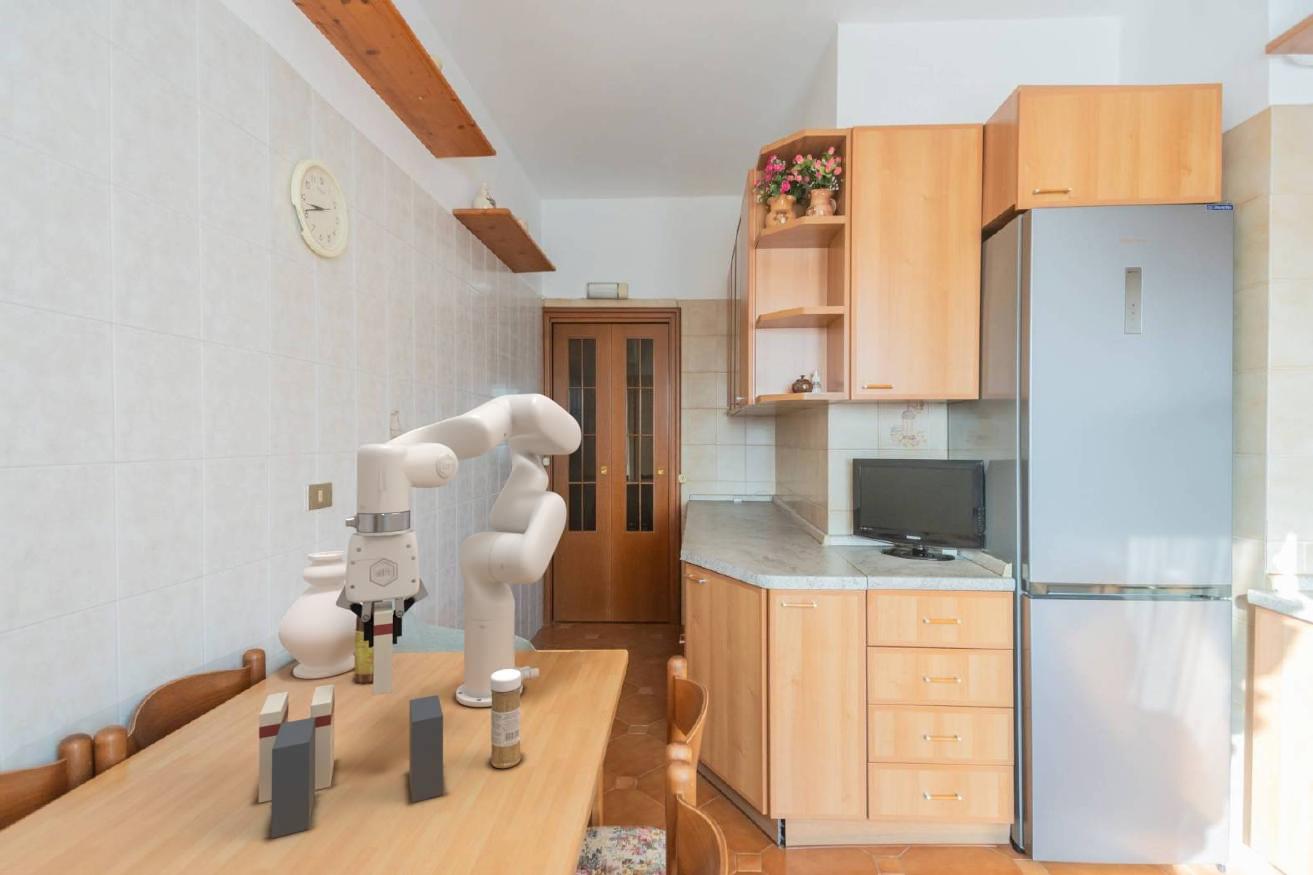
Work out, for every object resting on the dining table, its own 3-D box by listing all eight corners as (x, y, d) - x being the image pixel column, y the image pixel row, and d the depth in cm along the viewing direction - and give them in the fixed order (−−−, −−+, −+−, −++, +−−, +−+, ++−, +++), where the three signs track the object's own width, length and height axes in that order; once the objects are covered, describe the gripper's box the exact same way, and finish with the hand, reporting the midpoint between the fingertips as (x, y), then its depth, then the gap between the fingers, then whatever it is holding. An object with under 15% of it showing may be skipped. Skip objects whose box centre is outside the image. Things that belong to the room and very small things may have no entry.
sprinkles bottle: (517, 750, 90) (517, 665, 91) (523, 765, 86) (524, 676, 87) (487, 757, 88) (488, 670, 89) (493, 772, 84) (493, 681, 85)
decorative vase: (290, 658, 131) (291, 549, 131) (375, 648, 137) (376, 544, 137) (267, 689, 114) (268, 564, 115) (366, 676, 120) (367, 557, 121)
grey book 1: (314, 796, 79) (315, 716, 79) (308, 829, 72) (309, 741, 72) (280, 804, 77) (281, 722, 77) (271, 838, 70) (272, 749, 70)
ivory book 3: (391, 675, 91) (391, 600, 91) (392, 692, 85) (392, 611, 85) (373, 678, 90) (374, 602, 90) (373, 695, 84) (373, 613, 84)
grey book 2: (438, 767, 86) (438, 694, 86) (443, 795, 79) (443, 715, 79) (409, 774, 84) (409, 699, 84) (411, 803, 77) (412, 721, 77)
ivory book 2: (334, 762, 87) (334, 683, 88) (330, 786, 81) (331, 701, 81) (315, 766, 86) (315, 686, 86) (309, 791, 80) (310, 705, 80)
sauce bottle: (378, 684, 116) (378, 586, 117) (348, 684, 116) (348, 586, 117) (393, 671, 123) (394, 579, 123) (365, 671, 123) (365, 579, 123)
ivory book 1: (288, 772, 85) (288, 691, 85) (280, 798, 78) (281, 710, 79) (267, 776, 84) (268, 694, 84) (258, 803, 77) (259, 714, 78)
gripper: (321, 529, 81) (319, 660, 80) (441, 523, 88) (441, 642, 88) (325, 523, 88) (324, 643, 87) (437, 517, 95) (436, 629, 94)
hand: (383, 642), depth 87 cm, fingers closed on ivory book 3, 2 cm apart
